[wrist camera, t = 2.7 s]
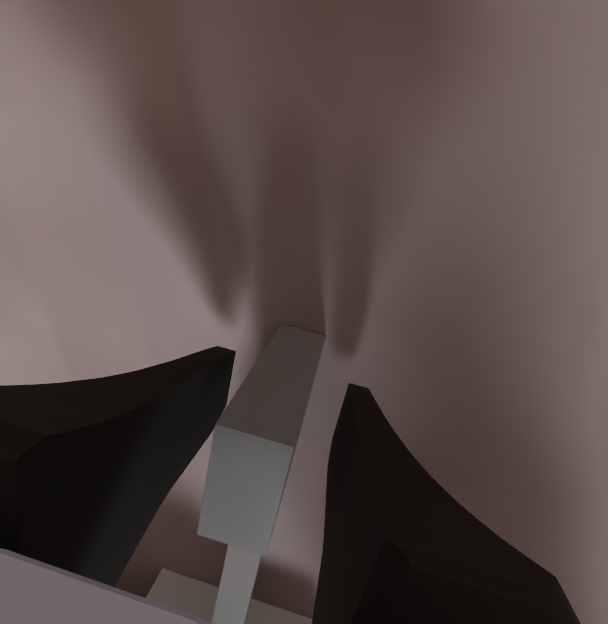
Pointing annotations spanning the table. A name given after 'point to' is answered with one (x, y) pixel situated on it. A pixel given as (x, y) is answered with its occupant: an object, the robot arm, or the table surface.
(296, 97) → the table surface
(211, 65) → the table surface
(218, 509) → the grey t-shaped piece
